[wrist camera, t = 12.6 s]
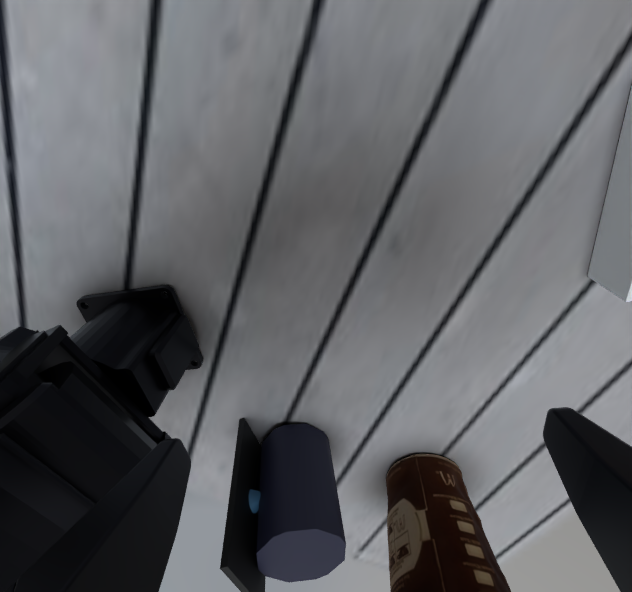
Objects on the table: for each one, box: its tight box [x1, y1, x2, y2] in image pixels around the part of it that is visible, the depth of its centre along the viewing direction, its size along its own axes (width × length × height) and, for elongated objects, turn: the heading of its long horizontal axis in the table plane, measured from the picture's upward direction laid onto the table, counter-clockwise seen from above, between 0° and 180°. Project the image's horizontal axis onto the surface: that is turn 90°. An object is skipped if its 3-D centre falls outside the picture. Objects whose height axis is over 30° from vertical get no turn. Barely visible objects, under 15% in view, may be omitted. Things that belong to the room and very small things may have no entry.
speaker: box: [220, 418, 346, 592], centre depth 24 cm, size 8×6×10 cm
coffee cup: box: [386, 454, 511, 592], centre depth 24 cm, size 9×8×13 cm
